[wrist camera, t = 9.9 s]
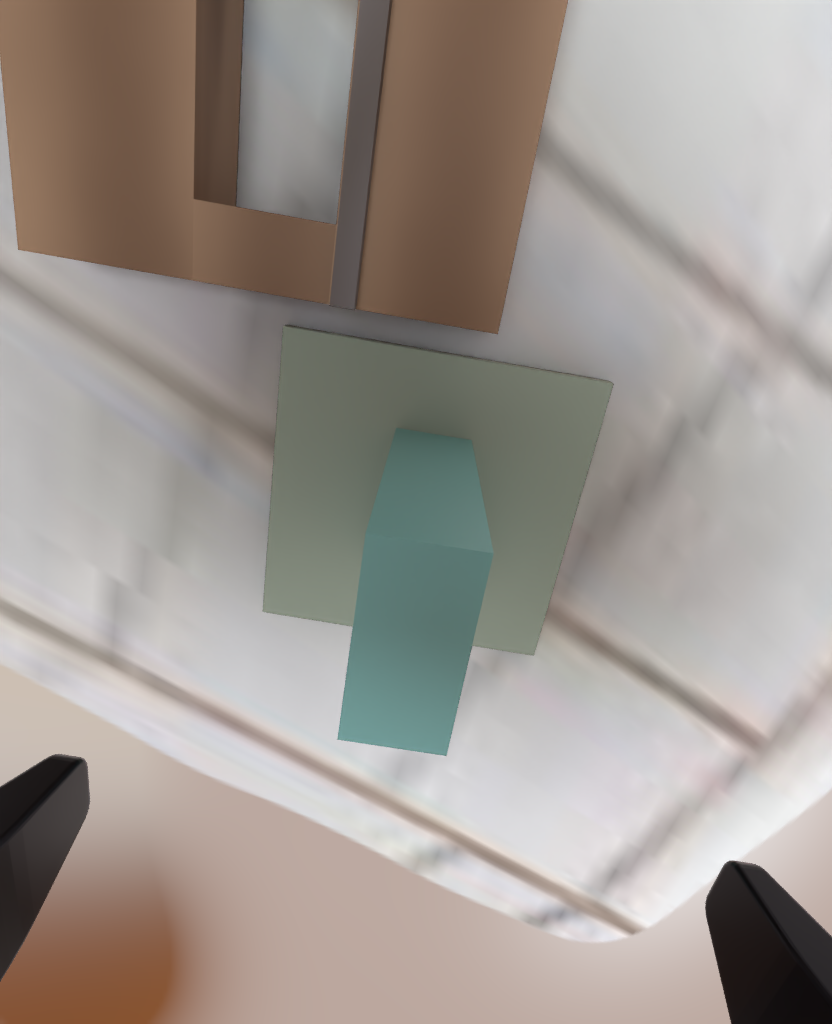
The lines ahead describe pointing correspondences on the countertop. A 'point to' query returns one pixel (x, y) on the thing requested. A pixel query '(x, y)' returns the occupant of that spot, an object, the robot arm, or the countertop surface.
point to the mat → (437, 410)
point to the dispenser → (214, 149)
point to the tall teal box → (417, 596)
